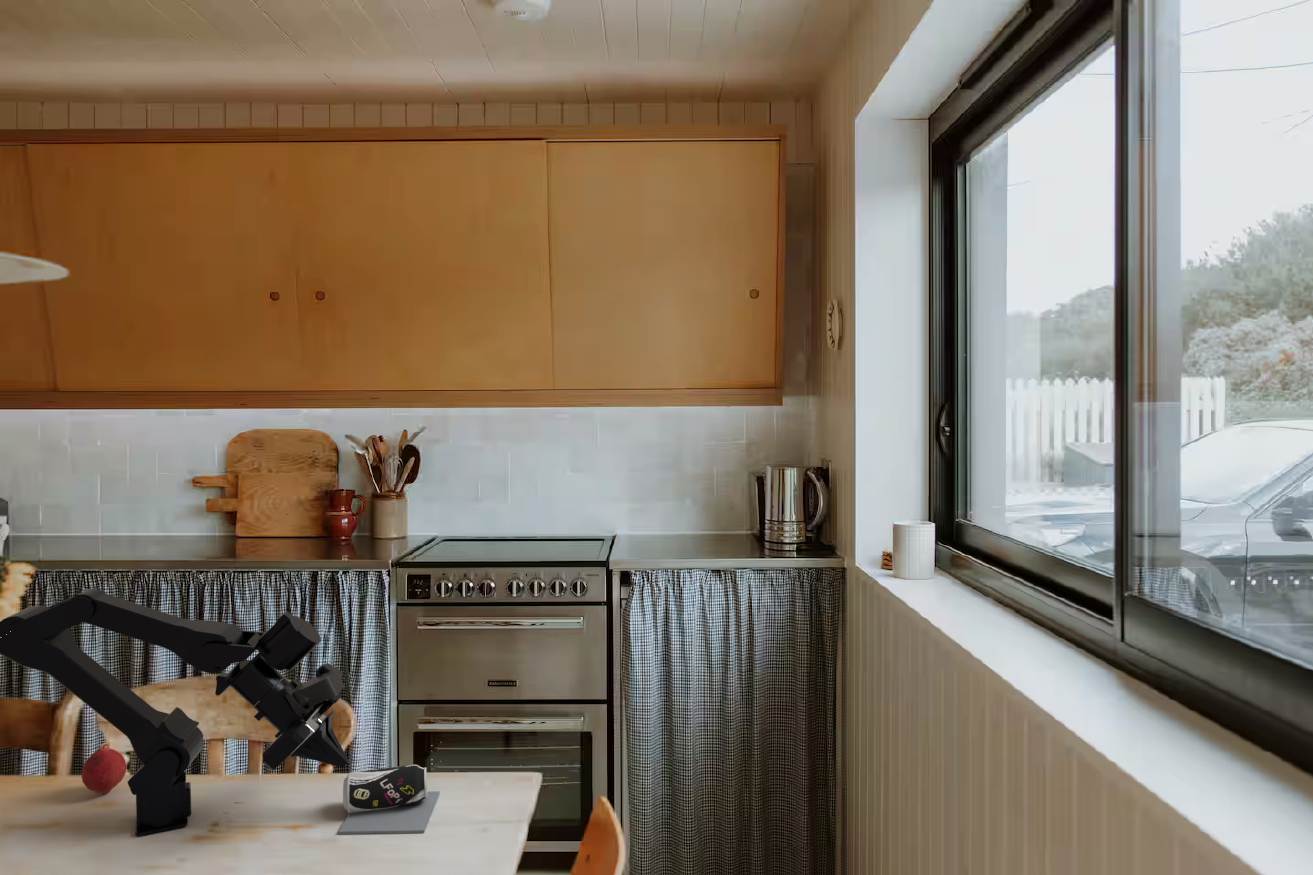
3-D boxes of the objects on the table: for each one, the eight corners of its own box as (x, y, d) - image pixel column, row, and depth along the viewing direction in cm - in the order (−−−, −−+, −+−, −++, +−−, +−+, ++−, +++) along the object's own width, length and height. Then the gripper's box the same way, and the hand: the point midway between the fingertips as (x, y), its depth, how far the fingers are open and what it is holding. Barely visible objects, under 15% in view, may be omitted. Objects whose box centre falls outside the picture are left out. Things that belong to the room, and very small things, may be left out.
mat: (338, 834, 124) (338, 831, 124) (361, 794, 136) (361, 792, 136) (424, 832, 124) (424, 830, 124) (439, 793, 136) (439, 791, 136)
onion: (105, 804, 131) (103, 753, 131) (72, 800, 132) (71, 749, 132) (135, 787, 137) (134, 737, 136) (104, 783, 138) (103, 734, 138)
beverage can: (341, 778, 127) (426, 767, 130) (345, 769, 133) (426, 759, 136) (342, 818, 127) (427, 807, 130) (346, 808, 132) (428, 797, 135)
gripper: (285, 674, 118) (368, 752, 120) (328, 635, 137) (399, 703, 138) (226, 731, 118) (310, 809, 120) (277, 685, 137) (349, 752, 138)
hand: (345, 764), depth 129 cm, fingers closed
